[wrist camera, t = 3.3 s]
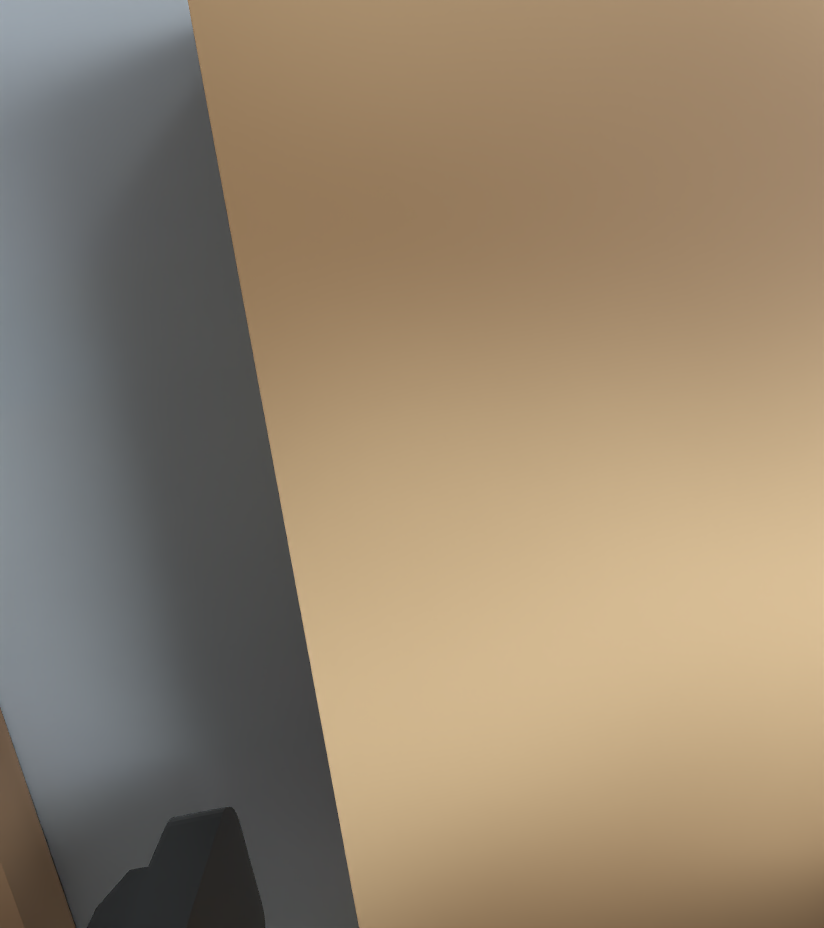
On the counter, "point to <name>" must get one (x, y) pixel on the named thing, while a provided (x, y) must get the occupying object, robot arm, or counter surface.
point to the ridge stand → (25, 854)
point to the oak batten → (546, 439)
